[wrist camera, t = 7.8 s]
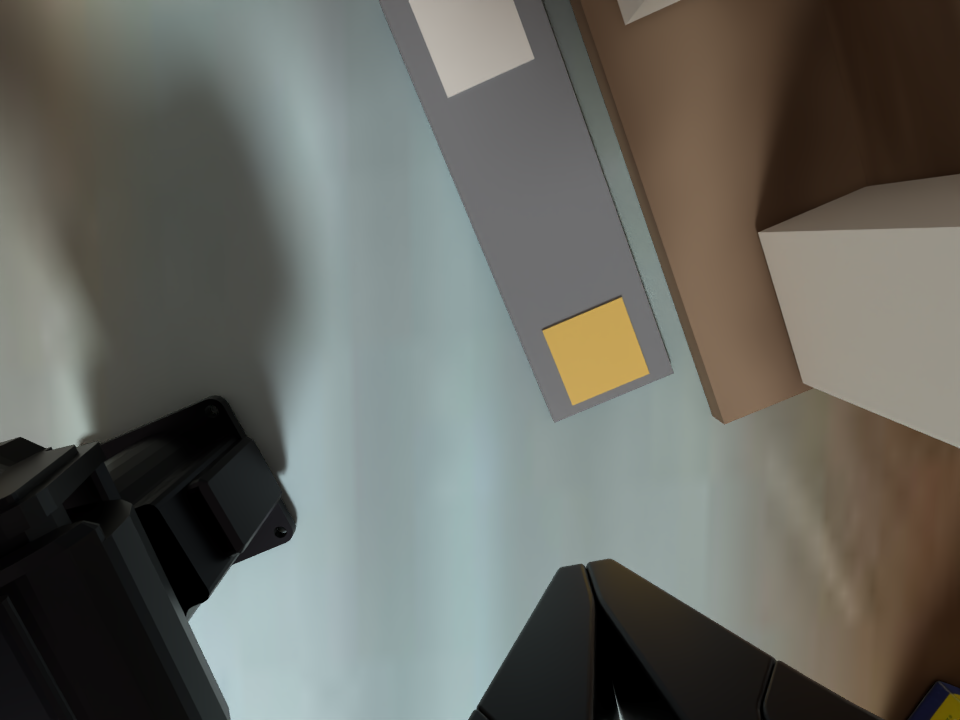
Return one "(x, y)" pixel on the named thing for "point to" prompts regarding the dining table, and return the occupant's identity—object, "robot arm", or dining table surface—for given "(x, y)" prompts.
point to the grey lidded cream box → (877, 299)
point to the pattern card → (533, 193)
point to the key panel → (766, 146)
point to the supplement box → (939, 703)
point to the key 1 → (641, 8)
